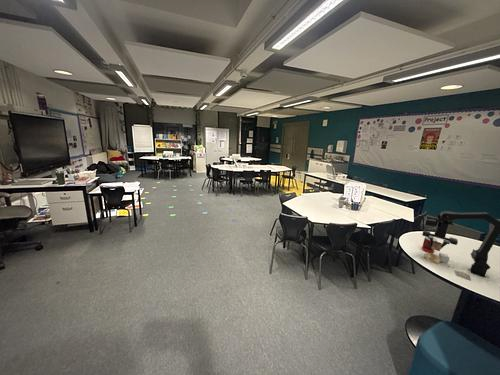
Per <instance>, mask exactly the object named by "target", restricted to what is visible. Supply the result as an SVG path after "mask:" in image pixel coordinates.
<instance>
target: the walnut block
mask: <svg viewBox="0 0 500 375" xmlns="http://www.w3.org/2000/svg"><path fill="white" fill-rule="evenodd" d="M442 243H443V242H439V241H437V242H436V241H433V245H432V248H431V249H433V250H434V251H437V252H440V251H441V250H442V249H441V246H442Z"/></svg>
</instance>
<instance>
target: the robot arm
mask: <svg viewBox="0 0 500 375" xmlns="http://www.w3.org/2000/svg"><path fill="white" fill-rule="evenodd" d="M457 220H485V221H487V222H488V223H489V226H488V227H489V228H488V229H489V231H488V232H487V233H486V236H485V237H484V239H483V241H482V243H481V244H480V246H479V247H478V248H477V249H472V252H471V253H470V257H471V259H472V260H473V263H471V265H470V268H469V269H470V270H469V271H470V272H471V273H472V274H474V275H478V276H481V277H484V278H486V277H487V276H486V274H487V272H488V270H489V269H491V266H490V265H489V263H488V259H489V252H490V251H491V249H492V247H493V245H494V244H495V242H496V241H497V239H498V238H499V236H500V219H499V218H495V217H493V216H492V215H490V214H489V213H488V212H485V211H480V212H457V211H456V212H455V211H450V210H448V211H447V210H443V211H441V212H440V213H439V214H438V215H436V216H435V217H433V216H429V215H426V217H425V219H424V221H423V225H424V226H429V227H432V231H429V230H425V229H424V230H423V231H422V234H421V235H422V236H423V237H425V236H426V237H428V238H429V239H430V241H431V247H432V245H433V238H435V239H440V240H442V242H441V243H442V246H441V249H440V250H442V249H443V248H444V247H445V246H447V245H450V244H451V245H454V246H457V245H458V243H459V242H458V239H457V238H455V237H449V238H448V237H446V235H447V233H448V230H449V227H450V226H451V225H452V226H454V223H453V222H452V221H457ZM431 232H434V233H431Z"/></svg>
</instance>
